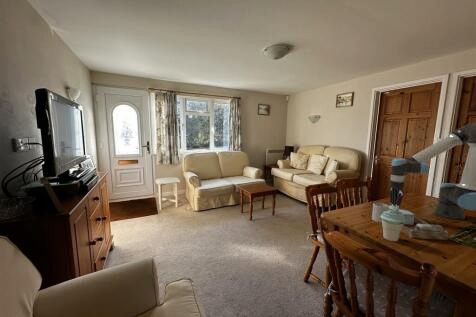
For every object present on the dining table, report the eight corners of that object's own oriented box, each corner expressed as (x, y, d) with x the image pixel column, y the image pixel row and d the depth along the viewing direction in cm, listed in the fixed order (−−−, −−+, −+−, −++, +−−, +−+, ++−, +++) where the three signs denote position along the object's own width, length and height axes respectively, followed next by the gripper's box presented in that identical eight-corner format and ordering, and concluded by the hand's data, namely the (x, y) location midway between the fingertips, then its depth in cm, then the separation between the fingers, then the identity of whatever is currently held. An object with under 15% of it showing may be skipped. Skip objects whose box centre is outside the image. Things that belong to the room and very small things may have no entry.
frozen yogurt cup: (381, 231, 119) (384, 199, 116) (405, 239, 110) (409, 204, 108) (375, 237, 113) (378, 203, 110) (400, 246, 104) (404, 209, 101)
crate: (404, 219, 136) (405, 209, 135) (413, 224, 128) (414, 214, 127) (391, 218, 137) (392, 209, 136) (399, 224, 129) (400, 213, 128)
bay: (416, 221, 132) (418, 210, 131) (448, 240, 109) (450, 227, 108) (387, 220, 134) (388, 209, 133) (412, 238, 111) (413, 225, 110)
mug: (384, 224, 129) (385, 207, 127) (369, 219, 136) (370, 204, 134) (391, 219, 136) (392, 204, 134) (377, 215, 143) (378, 200, 141)
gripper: (385, 178, 145) (382, 209, 148) (397, 183, 132) (393, 216, 135) (397, 178, 144) (394, 210, 147) (409, 183, 131) (406, 217, 134)
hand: (394, 213), depth 141 cm, fingers closed
